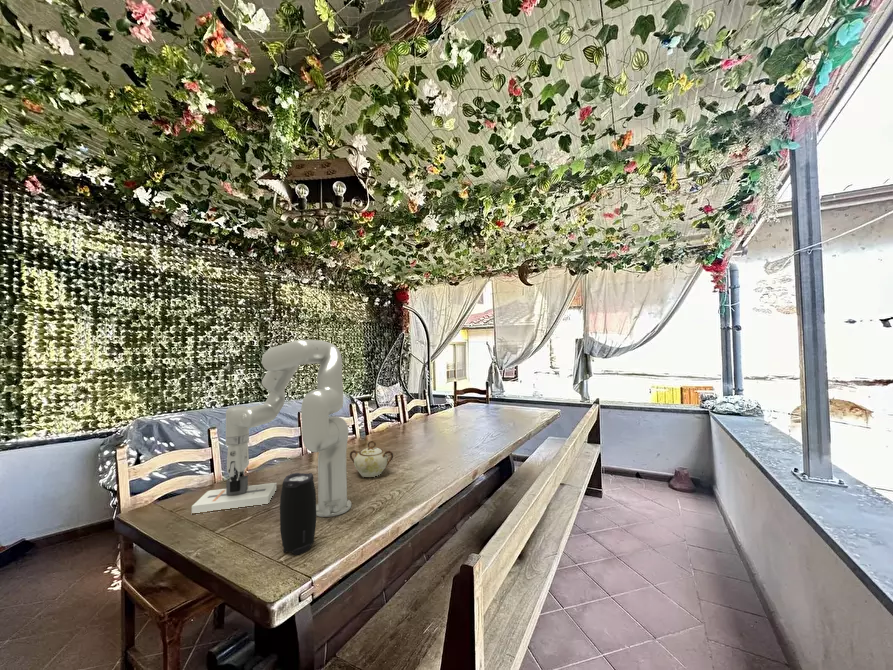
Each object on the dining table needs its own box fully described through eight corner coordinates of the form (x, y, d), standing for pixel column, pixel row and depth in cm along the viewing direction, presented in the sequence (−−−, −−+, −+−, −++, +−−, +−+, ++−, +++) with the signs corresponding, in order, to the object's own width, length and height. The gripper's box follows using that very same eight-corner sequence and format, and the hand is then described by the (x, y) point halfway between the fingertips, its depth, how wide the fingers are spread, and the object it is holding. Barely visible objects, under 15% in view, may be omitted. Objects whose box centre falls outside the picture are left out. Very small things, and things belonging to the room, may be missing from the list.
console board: (268, 504, 123) (268, 495, 123) (191, 515, 117) (191, 505, 117) (276, 490, 137) (276, 482, 137) (208, 498, 130) (208, 490, 130)
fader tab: (244, 493, 126) (244, 479, 126) (226, 495, 124) (226, 481, 124) (247, 488, 130) (247, 475, 130) (230, 491, 128) (230, 477, 128)
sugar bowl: (396, 468, 158) (396, 436, 158) (389, 481, 143) (388, 445, 144) (355, 469, 159) (355, 437, 160) (343, 481, 144) (343, 445, 145)
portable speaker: (282, 543, 97) (281, 474, 98) (316, 536, 100) (316, 469, 101) (278, 560, 89) (278, 484, 90) (316, 552, 92) (315, 478, 93)
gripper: (241, 444, 121) (241, 496, 120) (254, 433, 137) (254, 479, 136) (217, 446, 119) (217, 499, 118) (233, 435, 135) (233, 482, 134)
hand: (237, 488), depth 127 cm, fingers closed on fader tab, 4 cm apart
